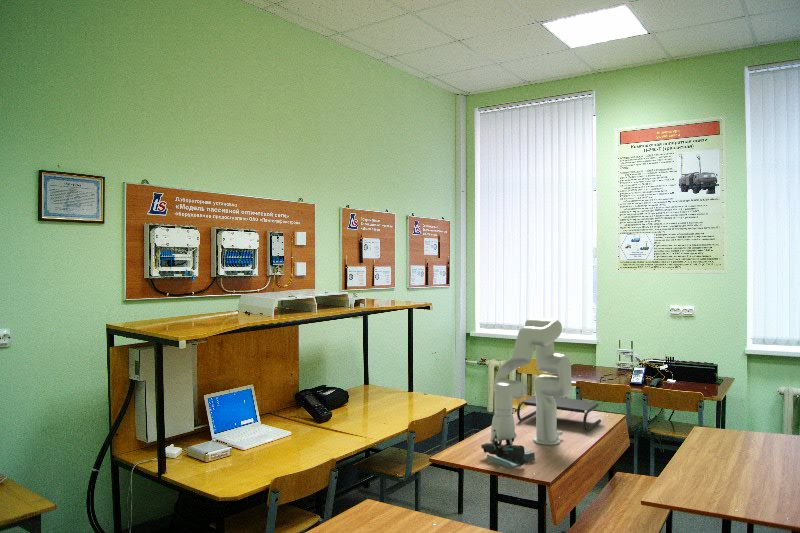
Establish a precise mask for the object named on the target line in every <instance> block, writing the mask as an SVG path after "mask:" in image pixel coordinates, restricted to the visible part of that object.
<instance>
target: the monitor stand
mask: <svg viewBox="0 0 800 533" xmlns="http://www.w3.org/2000/svg"><path fill="white" fill-rule="evenodd" d="M553 398H554V400H555V402H556V405H557V411H559V410H561V411H565V412H567V411H568V412H573V413H581V414H584V415H583V418H582V419H583V420H582V421H583V422H582V424H583V429H584V431H585V432H589V431H591V430H592V429H593V428H595V427H596V426H597V425H598V424H599V423H601V421H602V419H601V418H600V419H598V420H596V421H595V422H593V423H592V424H591V425H589V426H588V427H587V418H588V415H589V414H590V413H591V412H592V411H593V410H595V409H596V408H598V407H599V406H600V405H599V403H598V402H596V401H592V400H584V399H576V398H568V397H566V398H561V397H554V396H553ZM522 405H524V406H530V407H531V406H532V407H536V394H535V395H533V396H530V397H528V398H526V399H524V400H522V401H520V403H518V406H517V409H516V417H517V420H518V421H520V422H523V421H525V420H528V419H529V418H531V417H532V416H534V415H535V416H536V410H534V411H533V412H531V413H529V414H526V415H525V416H524V417H521V414H520V412H521V411H520V410H521V408H522Z"/></svg>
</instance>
